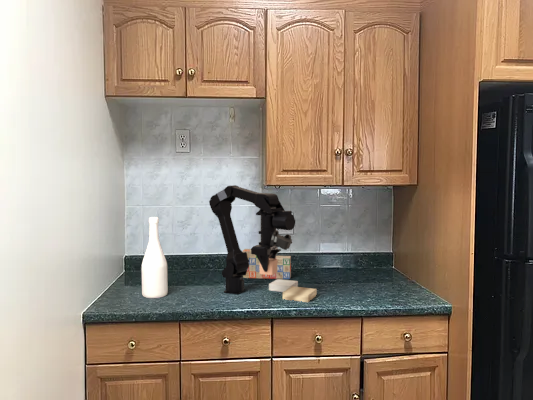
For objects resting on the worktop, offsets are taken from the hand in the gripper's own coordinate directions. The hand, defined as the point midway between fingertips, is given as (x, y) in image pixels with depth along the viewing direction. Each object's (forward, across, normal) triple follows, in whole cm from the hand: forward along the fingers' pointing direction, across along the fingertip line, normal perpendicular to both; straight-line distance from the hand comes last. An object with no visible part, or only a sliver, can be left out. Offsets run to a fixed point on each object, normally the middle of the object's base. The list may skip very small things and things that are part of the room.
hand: (268, 270), depth 168 cm
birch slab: (+12, +8, -10) cm, 17 cm away
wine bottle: (+11, -11, +42) cm, 45 cm away
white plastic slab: (+12, +17, 0) cm, 20 cm away
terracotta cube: (+1, 0, 0) cm, 1 cm away
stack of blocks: (+11, +34, +14) cm, 38 cm away
